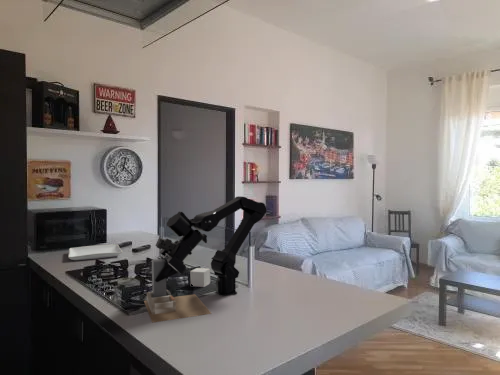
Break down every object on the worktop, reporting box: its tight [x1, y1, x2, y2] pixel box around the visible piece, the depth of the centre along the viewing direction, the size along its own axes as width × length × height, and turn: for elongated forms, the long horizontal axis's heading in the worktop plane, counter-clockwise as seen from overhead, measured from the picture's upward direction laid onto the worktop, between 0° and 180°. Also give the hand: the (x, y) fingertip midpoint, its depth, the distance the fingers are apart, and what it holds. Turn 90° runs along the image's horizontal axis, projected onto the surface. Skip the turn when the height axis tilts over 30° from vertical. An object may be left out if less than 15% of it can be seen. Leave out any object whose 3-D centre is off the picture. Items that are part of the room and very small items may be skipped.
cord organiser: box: [143, 289, 212, 323], centre depth 120 cm, size 18×21×4 cm
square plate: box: [68, 243, 123, 261], centre depth 211 cm, size 27×27×4 cm
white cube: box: [190, 267, 211, 288], centre depth 149 cm, size 6×6×6 cm
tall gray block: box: [151, 258, 167, 298], centre depth 124 cm, size 4×4×13 cm
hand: (154, 279), depth 123 cm, fingers closed on tall gray block, 4 cm apart
